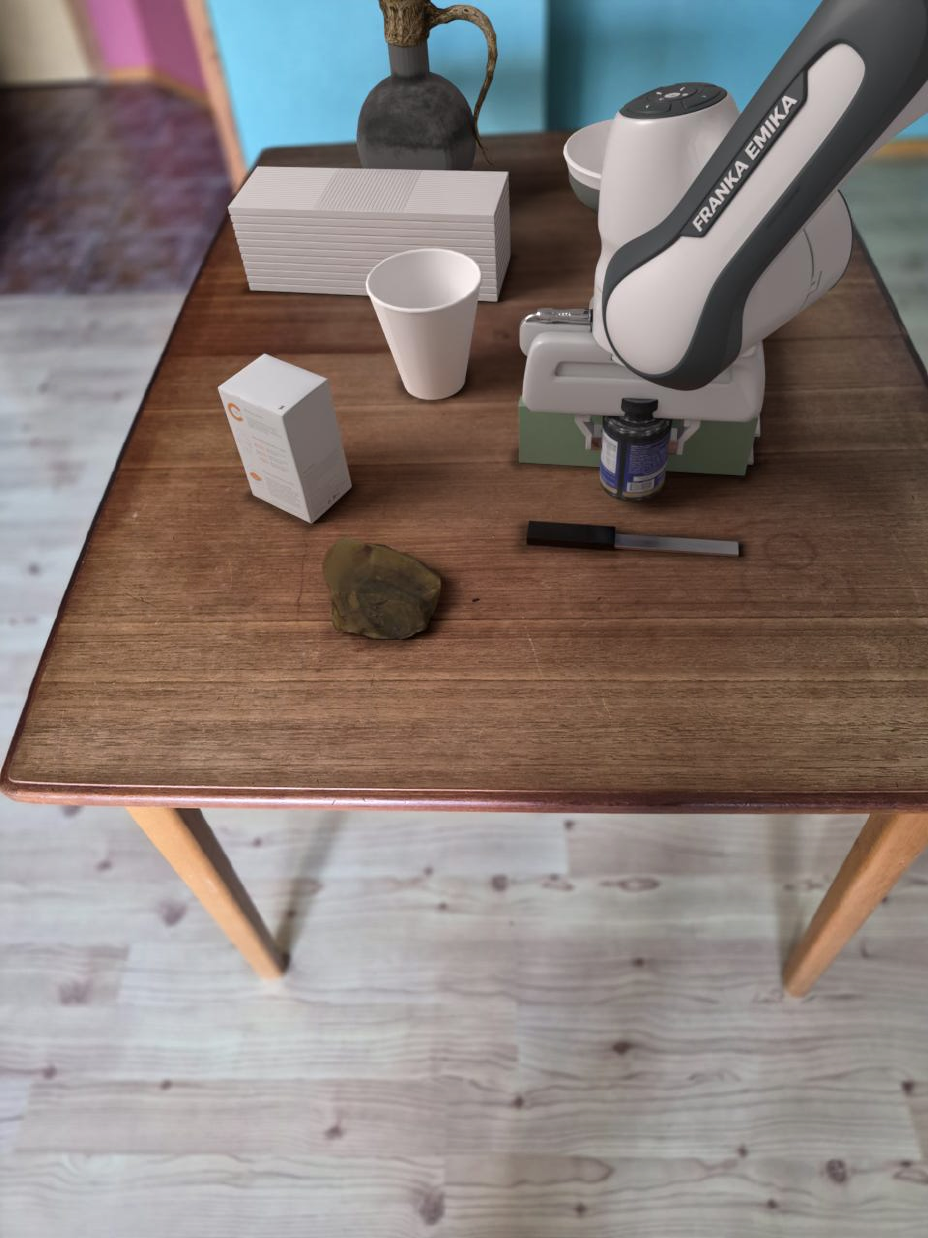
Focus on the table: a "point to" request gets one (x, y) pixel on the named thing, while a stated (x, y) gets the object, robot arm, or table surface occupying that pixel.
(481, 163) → the table surface
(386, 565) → the decorative stone
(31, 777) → the table surface
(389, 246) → the white ribbed block
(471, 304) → the cup
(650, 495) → the pill bottle
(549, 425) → the green board
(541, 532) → the table knife
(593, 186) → the bowl
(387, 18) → the pitcher
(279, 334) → the table surface
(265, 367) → the small box
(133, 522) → the table surface
